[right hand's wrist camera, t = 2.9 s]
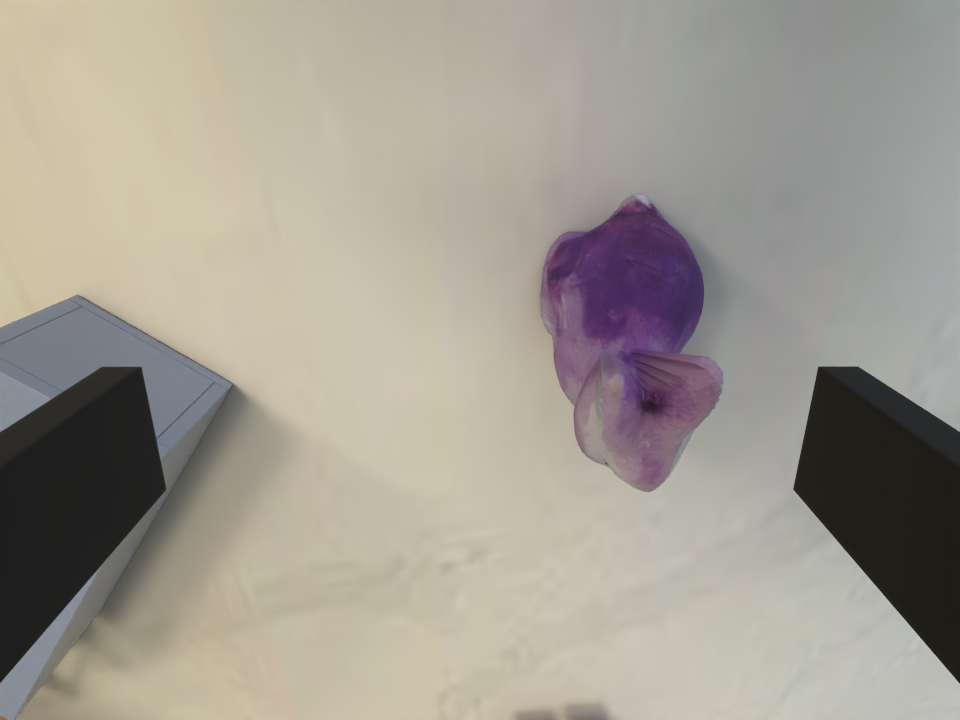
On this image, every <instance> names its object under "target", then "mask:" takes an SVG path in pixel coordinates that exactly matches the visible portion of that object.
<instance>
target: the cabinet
mask: <svg viewBox="0 0 960 720" xmlns="http://www.w3.org/2000/svg"><path fill="white" fill-rule="evenodd" d="M101 367H142V371H143V376H144V381H145V386H146V391H147V396H148V401H149V406H150V410H151V415H152V420H153V425H154V430H155V435H156V440H157V445H158V450H159V454H160V459H161V464H162V469H163V474H164V479H165V484H166V489H167V490H166V491H165V492H164V493H163V494H162V495H161V497H160V498H159V499H158V500H157V501H156V502H155V504H154V505H153V506H152V507H151V508H150V509H149V511H148V512H147V513H146V514H145V515H144V516H143V518H142V519H141V520H140V521H139V522H138V523H137V525H136V526H135V527H134V528H133V529H132V530H131V532H130V533H129V534H128V535H127V536H126V537H125V539H124V540H123V541H122V542H121V543H120V544H119V546H118V547H117V548H116V549H115V550H114V551H113V553H112V554H111V555H110V556H109V557H108V558H107V560H106V561H105V562H104V563H103V564H102V565H101V567H100V568H99V569H98V570H97V571H96V572H95V573H94V575H93V576H92V577H91V578H90V579H89V580H88V582H87V583H86V584H85V585H84V586H83V587H82V589H81V590H80V591H79V592H78V593H77V594H76V596H75V597H74V598H73V599H72V600H71V601H70V603H69V604H68V605H67V606H66V607H65V608H64V610H63V611H62V612H61V613H60V614H59V615H58V617H57V618H56V619H55V620H54V621H53V622H52V624H51V625H50V626H49V627H48V628H47V629H46V631H45V632H44V633H43V634H42V635H41V636H40V638H39V639H38V640H37V641H36V642H35V643H34V645H33V646H32V647H31V648H30V649H29V650H28V652H27V653H26V654H25V655H24V656H23V657H22V659H21V660H20V661H19V662H18V663H17V664H16V666H15V667H14V668H13V669H12V670H11V671H10V673H9V674H8V675H7V676H6V677H5V678H4V680H3V681H2V682H1V683H0V716H2V717H4V718H7V719H9V720H15V719H16V718H17V716H18V715H19V714H20V713H21V711H22V710H23V709H24V707H25V706H26V705H27V704H28V702H29V701H30V700H31V698H32V697H33V696H34V695H35V693H36V692H37V691H38V689H39V688H40V687H41V686H42V684H43V683H44V682H45V680H46V679H47V678H48V677H49V675H50V674H51V673H52V671H53V670H54V669H55V668H56V666H57V665H58V664H59V662H60V661H61V660H62V659H63V657H64V656H65V655H66V654H67V652H68V651H69V650H70V648H71V647H72V646H73V645H74V643H75V642H76V641H77V639H78V638H79V637H80V636H81V634H82V633H83V632H84V630H85V629H86V628H87V627H88V625H89V624H90V623H91V621H92V620H93V619H94V618H95V616H96V615H97V614H98V612H99V611H100V610H101V609H102V607H103V606H104V604H105V602H106V601H107V599H108V597H109V596H110V594H111V592H112V590H113V589H114V587H115V585H116V584H117V582H118V580H119V578H120V577H121V575H122V573H123V572H124V570H125V568H126V566H127V565H128V563H129V561H130V560H131V558H132V556H133V554H134V553H135V551H136V549H137V548H138V546H139V544H140V542H141V541H142V539H143V537H144V536H145V534H146V532H147V530H148V529H149V527H150V525H151V524H152V522H153V520H154V518H155V517H156V515H157V513H158V512H159V510H160V508H161V506H162V505H163V503H164V501H165V500H166V498H167V496H168V494H169V493H170V491H171V489H172V488H173V486H174V484H175V482H176V481H177V479H178V477H179V476H180V474H181V472H182V470H183V469H184V467H185V465H186V464H187V462H188V460H189V458H190V457H191V455H192V453H193V452H194V450H195V448H196V447H197V445H198V443H199V441H200V440H201V438H202V436H203V435H204V433H205V431H206V429H207V428H208V426H209V424H210V423H211V421H212V419H213V417H214V416H215V414H216V412H217V411H218V409H219V407H220V405H221V404H222V402H223V400H224V399H225V397H226V395H227V393H228V392H229V390H230V388H231V387H232V383H230V382H228V381H227V380H225V379H223V378H221V377H220V376H218V375H216V374H214V373H213V372H211V371H209V370H207V369H206V368H204V367H202V366H200V365H199V364H197V363H195V362H193V361H192V360H190V359H188V358H186V357H185V356H183V355H181V354H179V353H178V352H176V351H174V350H172V349H171V348H169V347H167V346H165V345H164V344H162V343H160V342H158V341H157V340H155V339H153V338H151V337H150V336H148V335H146V334H144V333H143V332H141V331H139V330H137V329H136V328H134V327H132V326H130V325H129V324H127V323H125V322H123V321H122V320H120V319H118V318H116V317H115V316H113V315H111V314H109V313H108V312H106V311H104V310H102V309H101V308H99V307H97V306H95V305H94V304H92V303H90V302H88V301H87V300H85V299H83V298H81V297H80V296H78V295H75V296H73V297H71V298H69V299H66V300H64V301H62V302H59V303H57V304H55V305H52V306H50V307H48V308H45V309H43V310H40V311H38V312H36V313H33V314H31V315H29V316H26V317H24V318H22V319H19V320H17V321H15V322H12V323H10V324H8V325H5V326H3V327H1V328H0V432H1V431H3V430H4V429H6V428H7V427H9V426H10V425H12V424H14V423H15V422H17V421H18V420H20V419H21V418H23V417H24V416H26V415H28V414H29V413H31V412H32V411H34V410H35V409H37V408H38V407H40V406H42V405H43V404H45V403H46V402H48V401H49V400H51V399H53V398H54V397H56V396H57V395H59V394H60V393H62V392H63V391H65V390H67V389H68V388H70V387H71V386H73V385H74V384H76V383H77V382H79V381H81V380H82V379H84V378H85V377H87V376H88V375H90V374H91V373H93V372H95V371H96V370H98V369H99V368H101Z"/></svg>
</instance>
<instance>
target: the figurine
mask: <svg viewBox="0 0 960 720" xmlns="http://www.w3.org/2000/svg"><path fill="white" fill-rule="evenodd" d="M540 299H541V302H540V304H541V316H542V319H543V322H544V325H545V327H546V329H547V331H548V332H549V333H550V334H551V335H552V336H553V338H552V339H553V341H554V362H555V368H556V372H557V376H558V379H559V383H560V386H561V388H562V390H563V392H564V393H565V395H566V396H567V398H568V399H569V400H570V401H571V403H572V404H573V405H574V406H575V409H574V428H575V435H576V439H577V442H578V445H579V447H580V448H581V450H582V452H583V453H584V454H585V455H586V456H587V457H588V458H590V459H591V460H593V461H595V462H597V463H599V464H602V465H605V466H607V467H609V468H611V470H612V471H613V472H614V474H615V475H617V476H618V477H619V478H621V479H622V480H623V481H625V482H626V483H628V484H629V485H631V486H632V487H634V488H636V489H638V490H641V491H644V492H651V491H653V490H655V489H656V488H657V487H659V486H660V485H661V484H662V483H663V482H664V481H665V480H666V479H667V478H668V477H669V475H670V473H671V472H672V470H673V469H674V467H675V465H676V464H677V462H678V460H679V458H680V457H681V455H682V453H683V451H684V449H685V447H686V445H687V443H688V441H689V439H690V437H691V435H692V433H693V431H694V430H695V428H697V427H698V426H699V424H700V423H701V422H702V421H703V420H704V419H705V418H706V417H707V416H708V415H709V414H710V412H711V411H712V410H713V409H714V408H715V405H716V403H717V402H718V401H719V397H720V395H721V393H722V387H723V373H722V370H721V369H720V368H719V367H718V365H717V364H716V362H715V361H713V360H712V359H710V358H708V357H703V356H694V355H685V354H679V353H680V351H681V350H682V348H683V347H684V345H685V344H686V343H687V341H688V340H689V339H690V337H691V336H692V334H693V332H694V330H695V328H696V326H697V324H698V321H699V318H700V316H701V312H702V307H703V299H704V285H703V278H702V273H701V270H700V267H699V265H698V263H697V260H696V258H695V256H694V254H693V252H692V250H691V248H690V247H689V245H688V243H687V242H686V240H685V239H684V238H683V237H682V236H681V235H680V233H679V232H678V231H676V230H675V229H674V228H673V227H671V226H670V225H669V224H668V223H667V222H666V221H665V220H664V219H663V217H662V216H661V214H660V213H659V212H658V210H657V209H656V207H655V206H654V205H653V203H652V202H651V201H650V200H649V199H648V198H646V197H645V196H643V195H641V194H636V195H632V196H630V197H628V198H626V199H625V200H624V201H623V202H622V203H621V205H620V206H619V208H618V209H617V210H616V212H615V213H614V214H613V215H612V216H611V217H610V218H609V219H608V220H607V221H606V222H605V223H603V224H602V225H600V226H598V227H597V228H595V229H593V230H591V231H590V232H585V233H582V232H567V233H565V234H563V235H561V236H560V237H559V238H558V239H557V240H556V241H555V243H554V244H553V245H552V246H551V248H550V249H549V252H548V254H547V257H546V261H545V265H544V268H543V277H542V286H541V296H540Z"/></svg>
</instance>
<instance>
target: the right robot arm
mask: <svg viewBox="0 0 960 720" xmlns="http://www.w3.org/2000/svg"><path fill="white" fill-rule="evenodd" d="M166 490H167V489H166V484H165V479H164V474H163V469H162V464H161V459H160V454H159V450H158V445H157V440H156V435H155V430H154V425H153V420H152V415H151V410H150V406H149V401H148V396H147V391H146V386H145V381H144V376H143V371H142V367H101V368H99V369H98V370H96V371H95V372H93V373H91V374H90V375H88V376H87V377H85V378H84V379H82V380H81V381H79V382H77V383H76V384H74V385H73V386H71V387H70V388H68V389H67V390H65V391H63V392H62V393H60V394H59V395H57V396H56V397H54V398H53V399H51V400H49V401H48V402H46V403H45V404H43V405H42V406H40V407H38V408H37V409H35V410H34V411H32V412H31V413H29V414H28V415H26V416H24V417H23V418H21V419H20V420H18V421H17V422H15V423H14V424H12V425H10V426H9V427H7V428H6V429H4V430H3V431H1V432H0V683H1V682H2V681H3V680H4V678H5V677H6V676H7V675H8V674H9V673H10V671H11V670H12V669H13V668H14V667H15V666H16V664H17V663H18V662H19V661H20V660H21V659H22V657H23V656H24V655H25V654H26V653H27V652H28V650H29V649H30V648H31V647H32V646H33V645H34V643H35V642H36V641H37V640H38V639H39V638H40V636H41V635H42V634H43V633H44V632H45V631H46V629H47V628H48V627H49V626H50V625H51V624H52V622H53V621H54V620H55V619H56V618H57V617H58V615H59V614H60V613H61V612H62V611H63V610H64V608H65V607H66V606H67V605H68V604H69V603H70V601H71V600H72V599H73V598H74V597H75V596H76V594H77V593H78V592H79V591H80V590H81V589H82V587H83V586H84V585H85V584H86V583H87V582H88V580H89V579H90V578H91V577H92V576H93V575H94V573H95V572H96V571H97V570H98V569H99V568H100V567H101V565H102V564H103V563H104V562H105V561H106V560H107V558H108V557H109V556H110V555H111V554H112V553H113V551H114V550H115V549H116V548H117V547H118V546H119V544H120V543H121V542H122V541H123V540H124V539H125V537H126V536H127V535H128V534H129V533H130V532H131V530H132V529H133V528H134V527H135V526H136V525H137V523H138V522H139V521H140V520H141V519H142V518H143V516H144V515H145V514H146V513H147V512H148V511H149V509H150V508H151V507H152V506H153V505H154V504H155V502H156V501H157V500H158V499H159V498H160V497H161V495H162V494H163V493H164V492H165V491H166ZM793 490H794V491H795V492H796V493H797V494H798V495H799V497H800V498H801V499H802V500H803V501H804V502H805V504H806V505H807V506H808V507H809V508H810V509H811V511H812V512H813V513H814V514H815V515H816V516H817V518H818V519H819V520H820V521H821V522H822V523H823V525H824V526H825V527H826V528H827V529H828V530H829V532H830V533H831V534H832V535H833V536H834V537H835V539H836V540H837V541H838V542H839V543H840V544H841V546H842V547H843V548H844V549H845V550H846V551H847V553H848V554H849V555H850V556H851V557H852V558H853V560H854V561H855V562H856V563H857V564H858V565H859V567H860V568H861V569H862V570H863V571H864V572H865V573H866V575H867V576H868V577H869V578H870V579H871V580H872V582H873V583H874V584H875V585H876V586H877V587H878V589H879V590H880V591H881V592H882V593H883V594H884V596H885V597H886V598H887V599H888V600H889V601H890V603H891V604H892V605H893V606H894V607H895V608H896V610H897V611H898V612H899V613H900V614H901V615H902V617H903V618H904V619H905V620H906V621H907V622H908V624H909V625H910V626H911V627H912V628H913V629H914V631H915V632H916V633H917V634H918V635H919V636H920V638H921V639H922V640H923V641H924V642H925V643H926V645H927V646H928V647H929V648H930V649H931V650H932V652H933V653H934V654H935V655H936V656H937V657H938V659H939V660H940V661H941V662H942V663H943V664H944V666H945V667H946V668H947V669H948V670H949V671H950V673H951V674H952V675H953V676H954V677H955V678H956V680H957V681H958V682H959V683H960V432H959V431H957V430H956V429H954V428H953V427H951V426H950V425H948V424H946V423H945V422H943V421H942V420H940V419H939V418H937V417H936V416H934V415H932V414H931V413H929V412H928V411H926V410H925V409H923V408H922V407H920V406H918V405H917V404H915V403H914V402H912V401H911V400H909V399H907V398H906V397H904V396H903V395H901V394H900V393H898V392H897V391H895V390H893V389H892V388H890V387H889V386H887V385H886V384H884V383H883V382H881V381H879V380H878V379H876V378H875V377H873V376H872V375H870V374H869V373H867V372H865V371H864V370H862V369H861V368H859V367H818V371H817V376H816V381H815V386H814V391H813V396H812V401H811V406H810V410H809V415H808V420H807V425H806V430H805V435H804V440H803V445H802V450H801V454H800V459H799V464H798V469H797V474H796V479H795V484H794V489H793Z"/></svg>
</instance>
